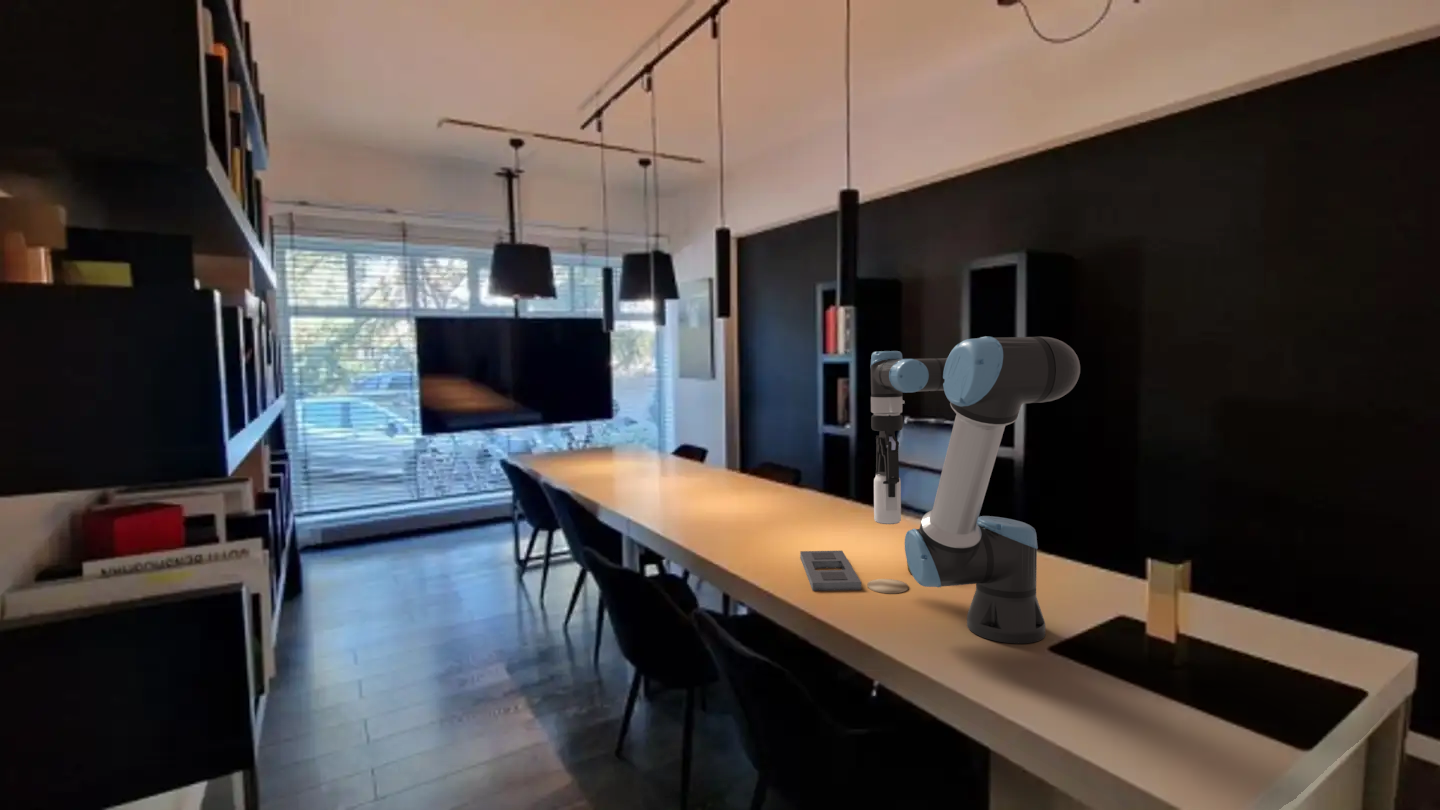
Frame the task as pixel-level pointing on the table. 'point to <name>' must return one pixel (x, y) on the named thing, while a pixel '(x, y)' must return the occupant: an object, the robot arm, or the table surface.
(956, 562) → the robot arm
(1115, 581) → the table surface
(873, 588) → the coaster
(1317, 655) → the table surface
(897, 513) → the can
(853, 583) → the panel
